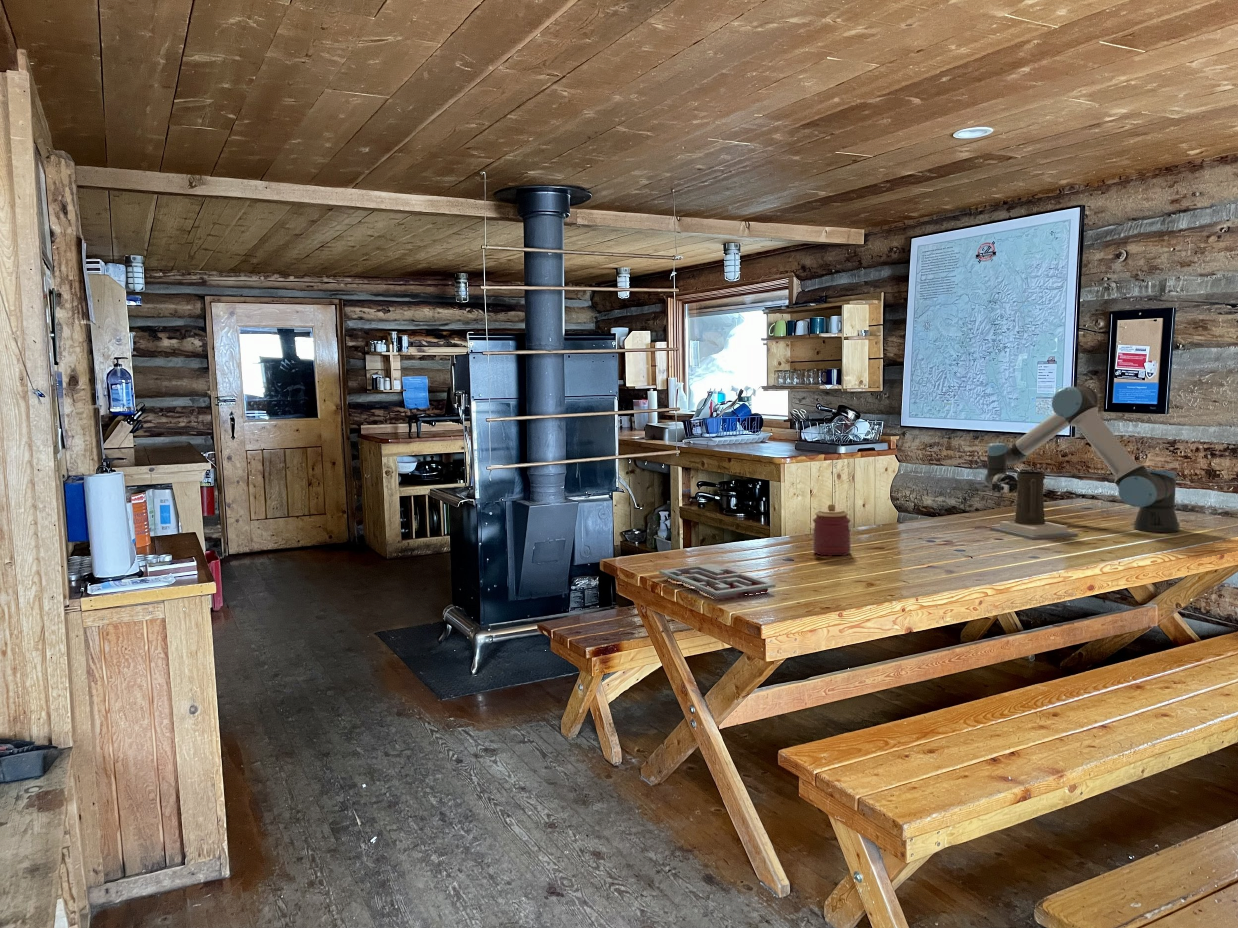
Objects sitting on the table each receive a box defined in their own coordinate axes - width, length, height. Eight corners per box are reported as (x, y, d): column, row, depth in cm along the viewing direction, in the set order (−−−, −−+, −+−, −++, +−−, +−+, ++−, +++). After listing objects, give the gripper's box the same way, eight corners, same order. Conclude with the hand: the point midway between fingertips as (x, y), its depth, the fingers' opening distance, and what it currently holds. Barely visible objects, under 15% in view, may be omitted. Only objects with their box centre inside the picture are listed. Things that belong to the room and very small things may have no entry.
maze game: (775, 595, 256) (775, 584, 256) (717, 603, 248) (717, 592, 248) (712, 573, 288) (712, 563, 288) (659, 580, 280) (659, 570, 279)
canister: (821, 548, 322) (821, 500, 320) (856, 551, 315) (856, 502, 313) (807, 554, 312) (806, 505, 310) (842, 558, 304) (842, 507, 302)
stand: (1033, 526, 356) (1033, 517, 355) (1077, 535, 332) (1078, 526, 332) (990, 529, 351) (990, 520, 350) (1032, 539, 327) (1032, 530, 327)
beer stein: (1010, 520, 351) (1012, 470, 347) (1039, 519, 349) (1041, 470, 346) (1022, 529, 336) (1024, 477, 332) (1052, 529, 334) (1054, 477, 331)
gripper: (1035, 491, 367) (1058, 497, 346) (974, 492, 369) (993, 499, 348) (1036, 473, 367) (1058, 478, 346) (974, 474, 368) (993, 480, 347)
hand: (1025, 489), depth 347 cm, fingers open, 13 cm apart
